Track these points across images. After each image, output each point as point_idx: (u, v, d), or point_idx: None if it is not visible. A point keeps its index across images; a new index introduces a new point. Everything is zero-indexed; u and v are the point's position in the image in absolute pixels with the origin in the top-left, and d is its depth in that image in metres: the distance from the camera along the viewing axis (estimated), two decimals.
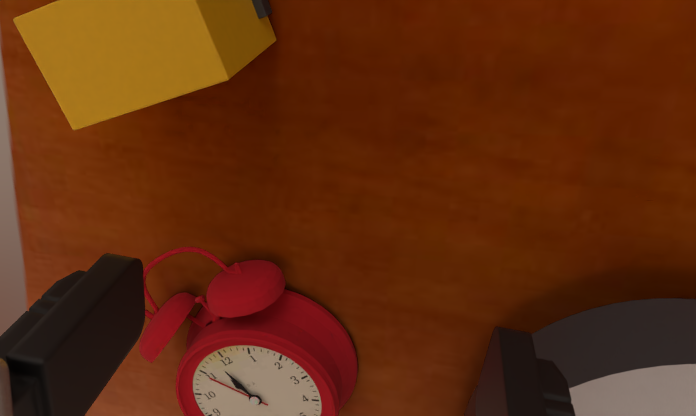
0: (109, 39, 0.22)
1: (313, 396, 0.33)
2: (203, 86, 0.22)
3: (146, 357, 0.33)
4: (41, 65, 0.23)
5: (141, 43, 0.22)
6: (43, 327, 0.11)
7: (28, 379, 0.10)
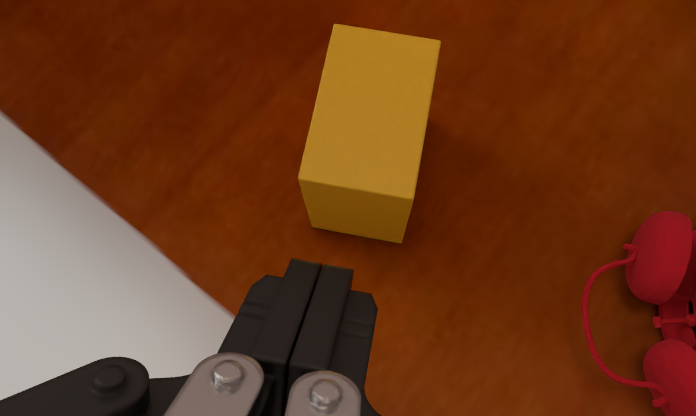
0: (360, 109, 0.24)
1: None
2: (435, 61, 0.25)
3: None
4: (345, 182, 0.23)
5: (377, 87, 0.24)
6: (270, 329, 0.12)
7: (268, 378, 0.11)
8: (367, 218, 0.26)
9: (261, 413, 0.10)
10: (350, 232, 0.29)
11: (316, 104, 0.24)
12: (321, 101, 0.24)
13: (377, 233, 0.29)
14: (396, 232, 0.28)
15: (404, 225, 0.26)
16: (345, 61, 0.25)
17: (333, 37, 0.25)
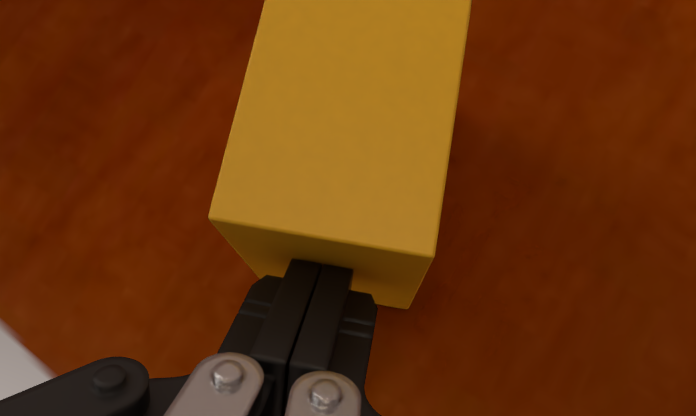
0: (329, 84, 0.13)
1: None
2: None
3: None
4: (299, 225, 0.12)
5: (361, 42, 0.13)
6: (270, 329, 0.12)
7: (268, 378, 0.11)
8: None
9: (261, 413, 0.10)
10: None
11: (247, 75, 0.13)
12: (256, 69, 0.13)
13: None
14: (400, 297, 0.16)
15: (414, 290, 0.15)
16: None
17: None
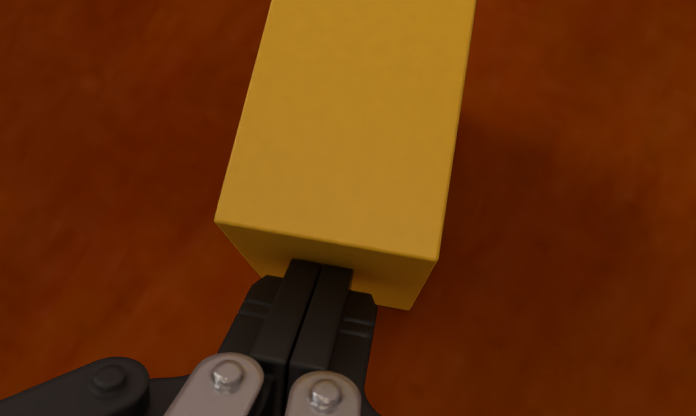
0: (334, 88, 0.13)
1: None
2: (473, 0, 0.13)
3: None
4: (304, 228, 0.12)
5: (366, 47, 0.13)
6: (270, 329, 0.12)
7: (268, 378, 0.11)
8: None
9: (261, 413, 0.10)
10: None
11: (253, 79, 0.13)
12: (262, 74, 0.13)
13: None
14: (402, 299, 0.16)
15: (416, 292, 0.15)
16: (307, 0, 0.13)
17: None
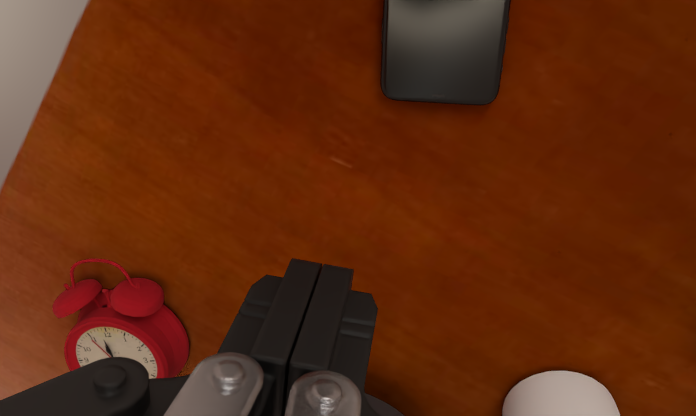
0: None
1: (153, 372, 0.52)
2: None
3: (55, 314, 0.50)
4: None
5: None
6: (270, 329, 0.12)
7: (269, 378, 0.11)
8: None
9: (261, 413, 0.10)
10: None
11: None
12: None
13: None
14: None
15: None
16: None
17: None
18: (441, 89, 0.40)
